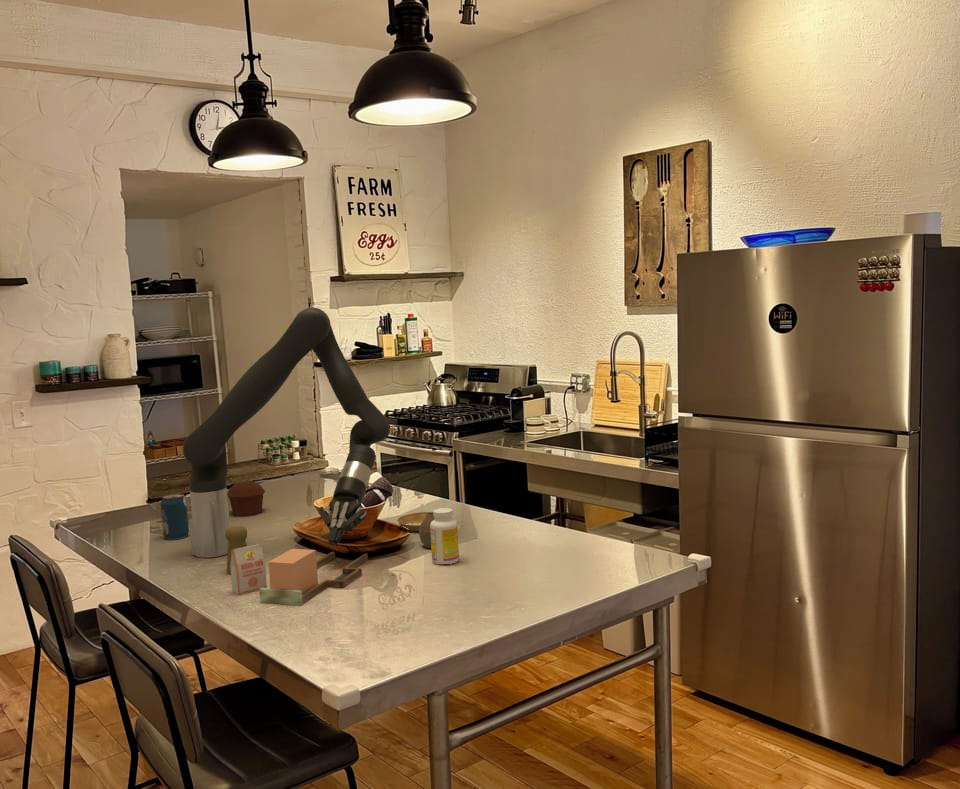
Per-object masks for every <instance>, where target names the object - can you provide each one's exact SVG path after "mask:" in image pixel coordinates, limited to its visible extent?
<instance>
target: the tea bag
mask: <svg viewBox="0 0 960 789" xmlns="http://www.w3.org/2000/svg"><path fill="white" fill-rule="evenodd" d="M264 557H265V556H264V553H263V548H262V544H261V543H258V544H253V545H248V546H247V547H243V548H238V549H233V550H232V555H231V564H230V568H231V574H230V578H231V591H232V592H233V593H235V594H236V595H237V596H239V595H244V594H248V593H251V591H252V592H255V590H256V591H259V589H260V588H268V586H267V585H268V584H267V574H266V573H267V572H266V562H265V558H264ZM247 592H248V593H247ZM243 593H244V594H243Z"/></svg>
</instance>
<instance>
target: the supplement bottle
mask: <svg viewBox="0 0 960 789" xmlns="http://www.w3.org/2000/svg"><path fill="white" fill-rule="evenodd" d="M432 512H433V516H434V517H435V520H433V521H432V522H431V524H430V532H431V548H430V549H431V560H432V563H434V564H435V563H436V564H435V565H438V564H450V565H452V564H451V563H454V564H456V563H457V561H458V562H459V560H460V552H459V536H458V535H459V533H458V532H459V531H458V522H457V521H456V519H454V518H453V514H454V512H453V509H452V508H448V507H441V508H436V509H433V510H432ZM455 562H456V563H455Z"/></svg>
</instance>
